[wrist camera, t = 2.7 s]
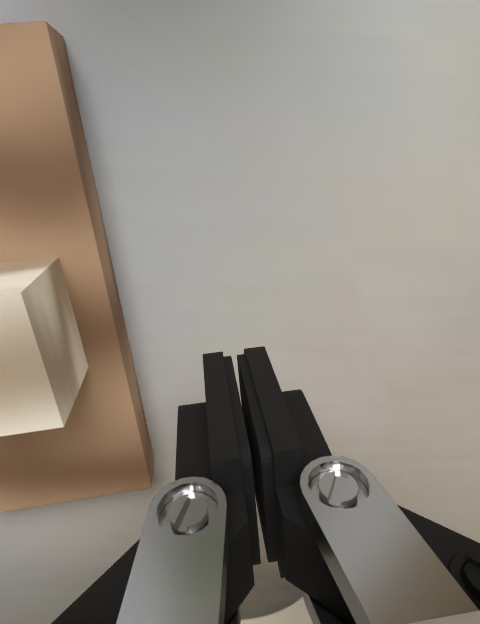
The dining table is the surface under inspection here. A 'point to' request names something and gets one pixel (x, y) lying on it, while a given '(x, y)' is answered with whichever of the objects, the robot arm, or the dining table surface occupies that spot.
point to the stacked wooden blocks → (78, 276)
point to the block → (37, 347)
